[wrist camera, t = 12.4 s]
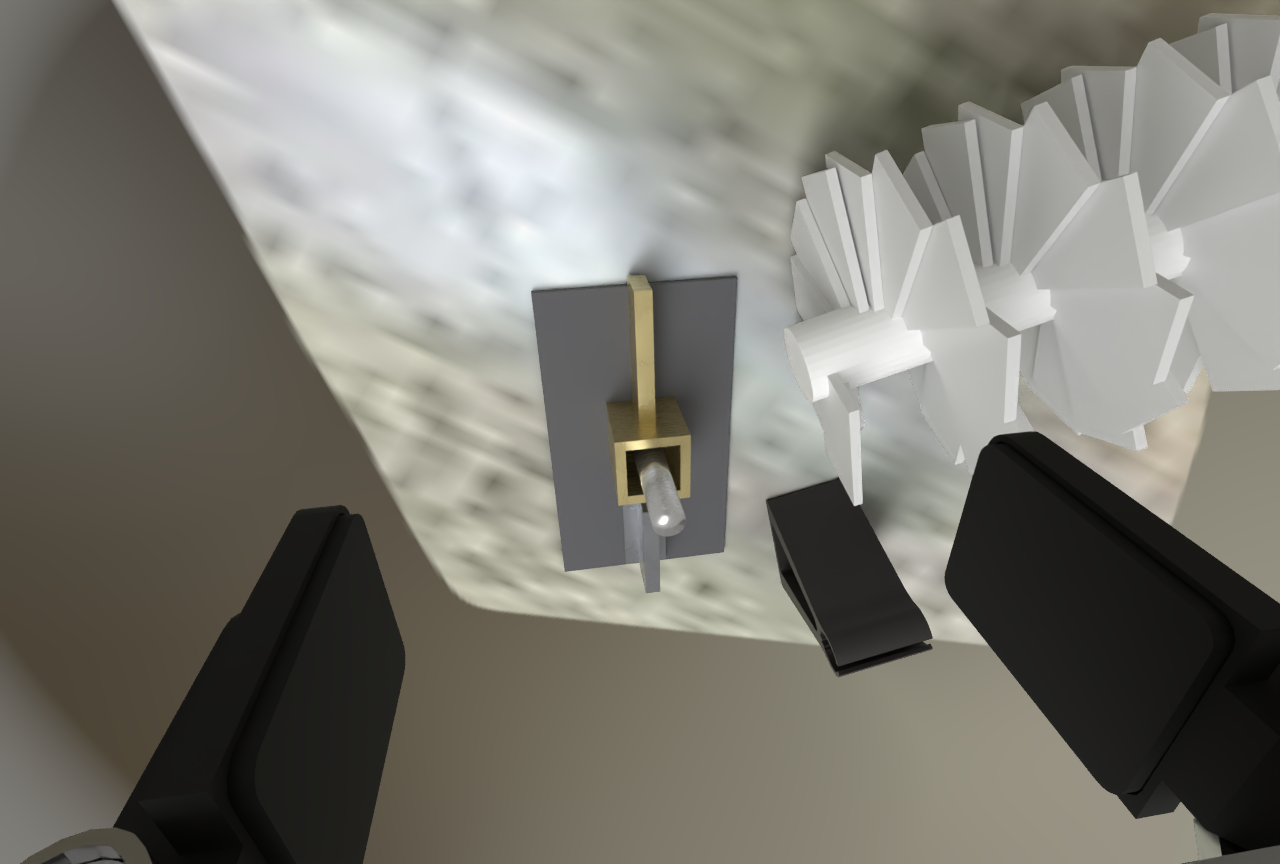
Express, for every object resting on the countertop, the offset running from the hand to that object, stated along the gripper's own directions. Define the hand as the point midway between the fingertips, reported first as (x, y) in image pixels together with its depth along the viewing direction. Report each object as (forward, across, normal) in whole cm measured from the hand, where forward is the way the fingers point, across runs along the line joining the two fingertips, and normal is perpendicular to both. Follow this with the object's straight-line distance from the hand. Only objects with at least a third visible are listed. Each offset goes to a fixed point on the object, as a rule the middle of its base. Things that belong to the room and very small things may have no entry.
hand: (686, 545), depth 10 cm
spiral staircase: (+29, -22, +3) cm, 36 cm away
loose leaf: (+28, -3, +10) cm, 30 cm away
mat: (+28, -3, +15) cm, 32 cm away
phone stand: (+28, -16, +25) cm, 41 cm away
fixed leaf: (+28, -3, +19) cm, 34 cm away
